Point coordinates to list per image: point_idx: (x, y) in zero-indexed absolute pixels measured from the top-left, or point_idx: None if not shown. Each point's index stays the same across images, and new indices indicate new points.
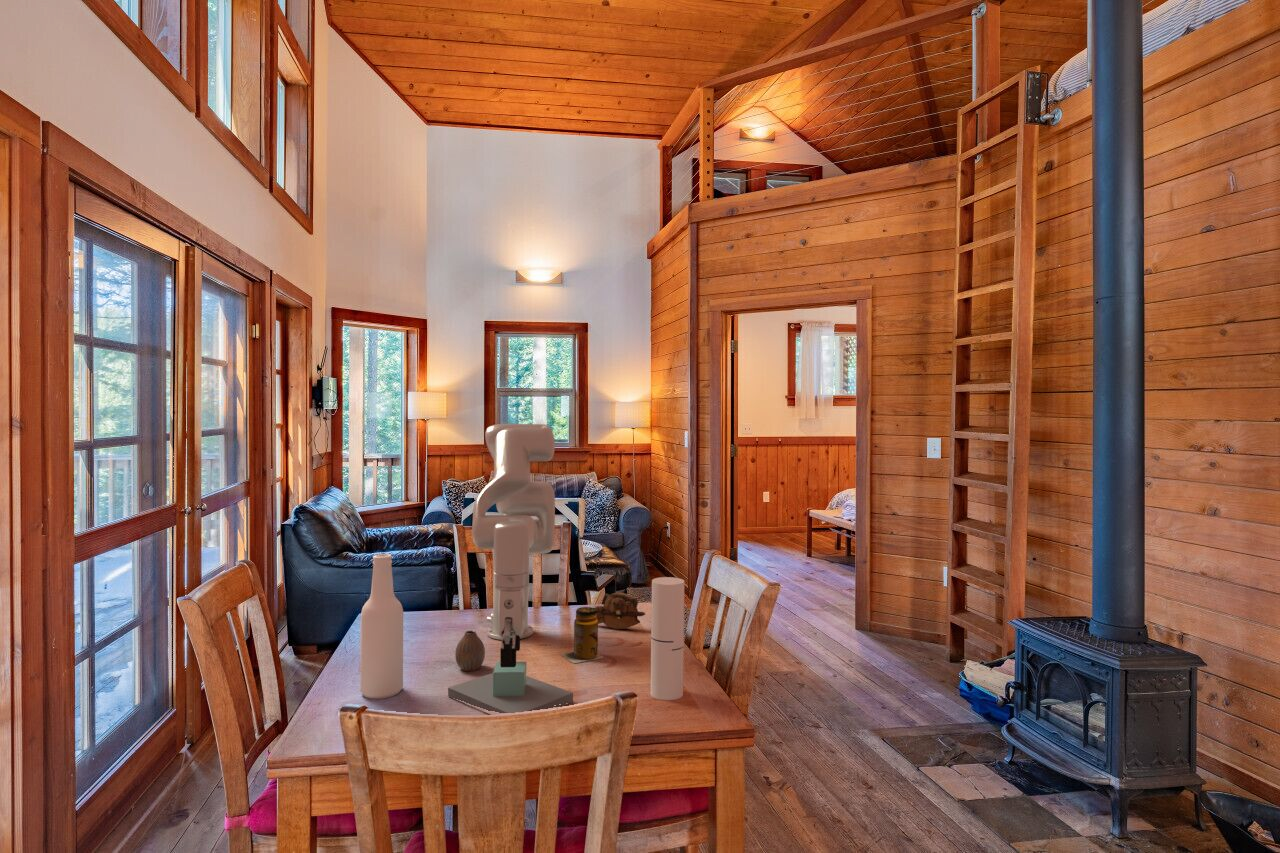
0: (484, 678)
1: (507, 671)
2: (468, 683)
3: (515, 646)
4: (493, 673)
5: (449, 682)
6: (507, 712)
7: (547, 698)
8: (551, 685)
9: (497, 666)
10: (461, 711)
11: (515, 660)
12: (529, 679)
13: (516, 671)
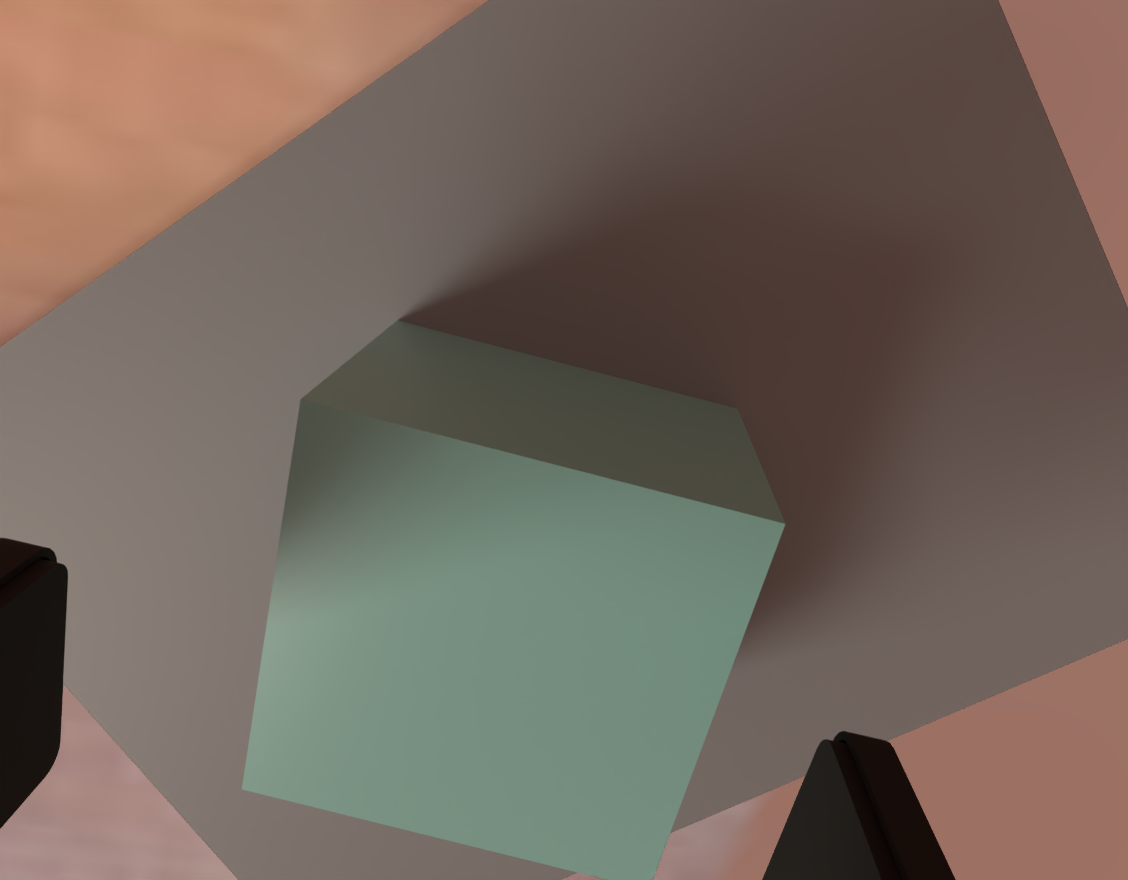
0: (145, 696)
1: (675, 732)
2: (257, 834)
3: (12, 658)
4: (647, 874)
5: (36, 867)
6: (1123, 637)
7: (932, 150)
8: (514, 4)
9: (425, 810)
10: (676, 863)
11: (917, 820)
12: (246, 254)
13: (718, 621)
